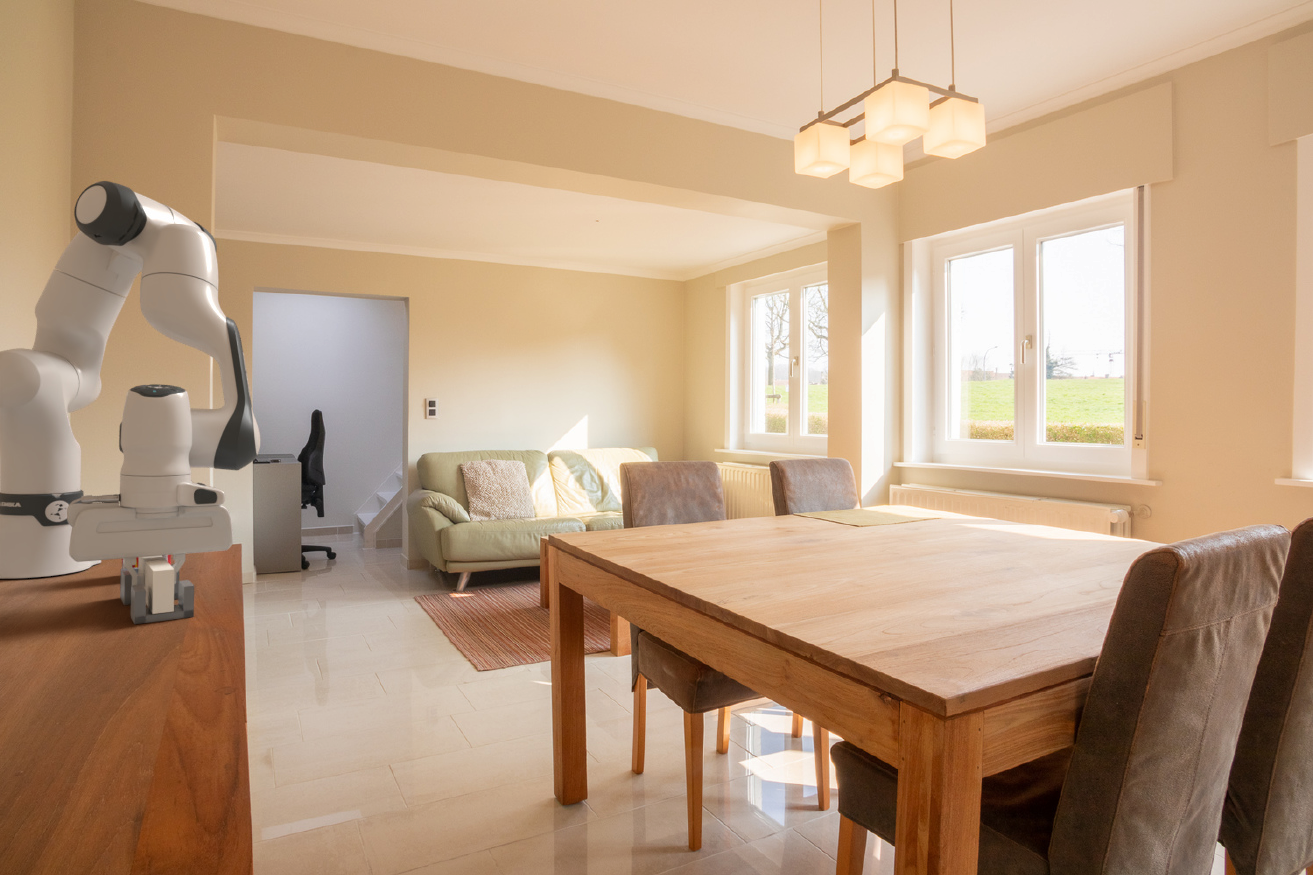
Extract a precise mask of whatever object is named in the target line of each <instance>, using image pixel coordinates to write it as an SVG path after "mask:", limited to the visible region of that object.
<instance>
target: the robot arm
mask: <svg viewBox="0 0 1313 875" xmlns="http://www.w3.org/2000/svg"><path fill="white" fill-rule="evenodd" d="M73 213H74V214H73V215H74V219H75V220H74V221H75V224H76V226H77V229H78V230H79V231H78V232H77V233H76V235H74V237H73V238H72V239H71V240H70V242H69V243H68V245H67V246H66V247H65V249H64V250H63V253H62V254H61V256H60V257H59V258H58V261H57V263H56V264H55V266H54V269H53V270H52V272H51V274H50V276H49V278H48V280H47V282H46V284H45V287H44V288H43V290H42V292H41V295H40V296H39V298H38V300H37V303H36V304H35V306H34V315H35V318H36V331H35V332H36V333H35V337H34V342H33V345H32V348H31V349H30V348H24V347H23V348H21V347H20V348H10V349H6V350H1V351H0V579H28V578H29V579H30V578H31V579H32V578H41V577H51V576H52V577H53V576H59V575H66V574H72V573H77V572H81V571H84V570H87V569H89V568H91V567H92V566H94V565H98V564H101V563H102V561H106V560H107V561H108V560H119V559H120V560H122V558H123V564H124V566H125V567H126V568H127V570H128V571H129V573H130V574H131V575H132V586H133V585H142V586H143V587H145V582H144V581H145V575H144V573H141V574H137V573H136V571H135V570H134V569H133V567H132V566H131V565H135V564H136V557H148V556H161V555H171V556H172V560H173V561H174V563H173V564H174V565H173V566H172V567H173V568H174V569H175V571H174V584H176V572H178V571H179V572H180V570H181V568H182V567H183V565H184V563H185V562H186V554H196V553H197V554H198V553H210V552H220V551H221V552H223V551H228V550H229V549H230V548H231V547H232V545H233V543H234V533H233V522H232V521H233V520H232V515H231V513H230V511H229V510H228V508H227V507H225V506H224V505H223V504H224V503H225V501H226V494H225V492H224V490H222V489H220V488H218V487H214V486H210V485H206V484H205V483H202V482H193V481H192V469H193V468H196V469H197V468H198V469H199V468H203V469H205V468H206V469H207V468H209V469H212V468H213V469H216V470H228V471H239V470H241V469H243V468H245V467H246V466H248V465H249V464H251V463H252V462H254V460H255V459H257V458H258V457H259V456H258V455H259V453H260V448H261V433H260V428H259V426H258V422H257V419H256V417H255V414H254V411H253V406H252V400H251V392H250V391H251V390H250V385H249V379H248V371H247V366H246V361H245V360H246V359H245V352H244V349H243V344H242V337H241V334H240V330H239V328H238V326H237V323H236V321H235V320H234V319H232V318H230V317H228V316H226V315H225V313H224V312H223V310H222V308H221V306H220V303H219V302H220V301H219V282H220V280H219V264H218V257H217V250H218V249H217V246H218V245H217V240H216V238H214V235H212V233H210V231H209V230H207V229H206V228H205V227H204V226H203V225H201V224H200V223H198V222H196V221H193V220H191V219H189V217H187V216H186V215H183V214H182V213H181V212H179V211H177V210H175V209H174V208H172V207H170V206H169V205H167V204H165V203H160V202H159V201H157V200H155V199H153V198H150V197H148V196H145V195H143V194H141V193H138V192H136V191H133V189H132V188H130V187H128V186H125V185H123V184H120V183H116V182H113V181H109V180H101V181H97V182H95V183H93V184H90V185H89V186H87V187H86V188H85V189H84V190H83V191H82V192H81V194H80V195H79V196H78V198H77V200H76V202H75V206H74V212H73ZM140 272H141V275H140V276H141V277H140V282H139V283H140V286H139V301H140V302H139V303H140V304H139V305H140V312H141V314H142V316H143V318H145V320H146V321H147V323H148V324H149V325H150V326H151V327H152V328H153V329H154V330H156V331H157V332H158V333H159V334H162V336H165V337H167V338H169V339H170V340H173V341H175V342H177V343H180V344H182V345H185V346H188V347H190V348H193V349H196V350H198V351H199V352H202V353H205V354H206V355H207V356H210V357H211V358H212V359H213V360H214V361H215V362H216V363H217V364H218V367H219V373H220V380H221V381H220V382H221V387H222V393H223V400H224V401H223V402H224V404H223V406H221V407H219V408H215V409H214V408H193V407H192V408H191V403H190V398H189V393H188V391H187V390H186V389H185V388H183V387H181V386H176V385H171V384H158V383H157V384H155V383H154V384H141V385H136V386H134V387H132V388H130V389H128V391H127V393H126V397H125V401H124V406H123V412H122V417H121V418H122V420H121V422H120V424H119V431H118V432H119V435H118V437H119V439H118V448H119V451H120V452H121V453H122V454H123V462H122V465H121V468H120V472H119V494H117V493H115V494H103V495H91V494H89V495H84V493H85V492H84V490H83V489H81V488H82V484H81V483H82V448H81V445H80V443H79V442H78V440H77V439H76V437H75V435H74V433H73V428H72V426H71V425H72V424H71V422H70V419H69V413H74V412H76V411H79V410H82V409H84V408H86V407H88V406H90V405H91V404H93V403H94V402H95V401H96V400H97V399H98V398H99V396H100V394H101V391H102V387H103V386H102V379H101V375H100V374H101V370H102V366H103V362H104V361H103V360H104V356H105V352H106V347H107V344H108V341H109V340H108V339H109V337H110V334H111V332H112V330H113V327H114V325H115V323H116V321H117V319H118V317H119V315H120V313H121V310H122V308H123V306H124V304H125V302H126V300H127V297H129V294H130V292H131V289H132V287H133V285H134V281H136V280H135V279H136V278H137V276H138V274H139V273H140Z"/></svg>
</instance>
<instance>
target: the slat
mask: <svg viewBox="0 0 1313 875" xmlns="http://www.w3.org/2000/svg"><path fill="white" fill-rule="evenodd" d="M171 565H172V564H171ZM171 565H170V564H169V563H168V562H167V561H166V559H165V558H164V557H163V556H162V555H161V556H148V557H139V562H138V574H141V573H144V575H145V581H144V582H145V587H144V588H145V590H146V607H147V608H149V609H150V611H151V612H152V614H157V613H165V612H173V611H174V605H175V599H174V571H175V569H174V568H173V567H172V566H171Z"/></svg>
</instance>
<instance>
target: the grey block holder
mask: <svg viewBox="0 0 1313 875" xmlns="http://www.w3.org/2000/svg"><path fill="white" fill-rule="evenodd" d="M173 565H174V563H173V564H172V563H171V566H173ZM133 569H134V570H135V571H136V573H137V574H138V568H133ZM119 582H120V583H119V584H120V585H119V586H120V589H119V590H120V594H119V595H120V597H119V598H120V600H121V602H122V604H123V606H128V605H129V606H130V619H131V620H132V622H133V624H134V625H141V624H147V623H156V622H163V621H171V620H178V619H186V618H187V619H188V618H193V617H194V615H195V585H194V584H193V583H192V582H191V581H190V579H185V580H184V579H183V580H180V570H179V571H178V572H176V584H174V600H177V601H178V602H177V603H178V604H174V611H173V612H165V613H157V614H152V612H151V611H150V609H149V608H148V607H147V604H146V590H145V588H144V587H143V586H142V585H133V586H132V575H131V574H130V573H129V571H128V570H127V569H122V568H120V581H119Z"/></svg>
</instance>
